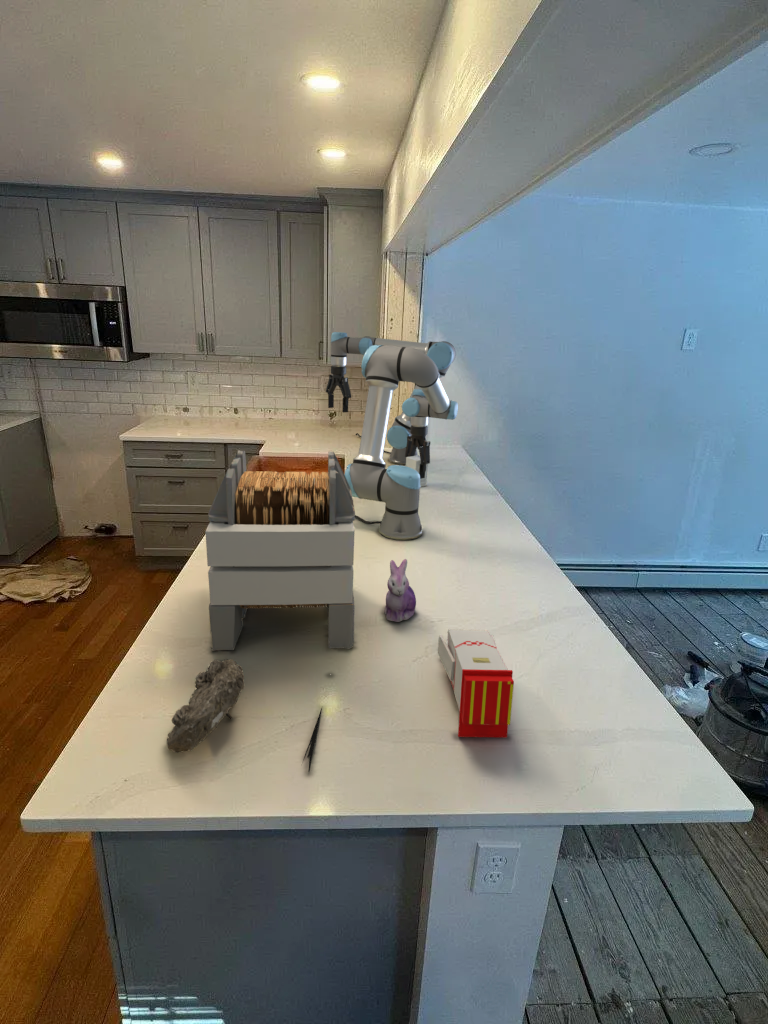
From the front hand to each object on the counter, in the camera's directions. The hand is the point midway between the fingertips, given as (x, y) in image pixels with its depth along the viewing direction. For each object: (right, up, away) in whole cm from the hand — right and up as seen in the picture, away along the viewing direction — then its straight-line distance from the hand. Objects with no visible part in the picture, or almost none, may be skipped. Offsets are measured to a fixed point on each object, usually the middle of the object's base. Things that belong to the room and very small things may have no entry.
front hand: (416, 475), depth 255 cm
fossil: (-47, -55, -147) cm, 164 cm away
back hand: (-37, +34, +25) cm, 56 cm away
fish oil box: (0, -4, +2) cm, 4 cm away
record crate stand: (-39, -42, -110) cm, 124 cm away
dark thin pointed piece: (-27, -56, -146) cm, 159 cm away
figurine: (-10, -43, -107) cm, 116 cm away
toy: (+3, -54, -136) cm, 147 cm away
